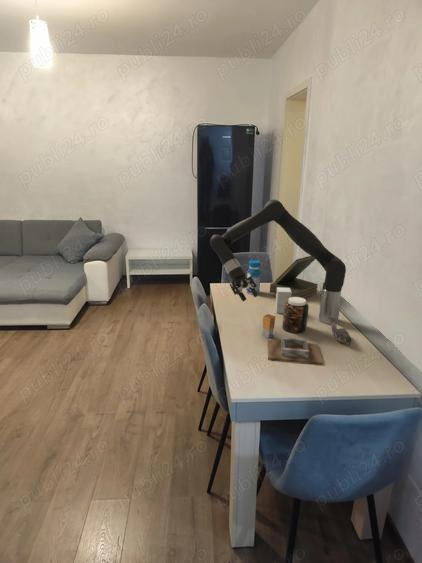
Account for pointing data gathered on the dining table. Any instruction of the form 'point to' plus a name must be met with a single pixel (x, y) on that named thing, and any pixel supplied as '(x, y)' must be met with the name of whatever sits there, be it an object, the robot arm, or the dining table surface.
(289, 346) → the socket board
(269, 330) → the orange rectangular block
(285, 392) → the dining table surface
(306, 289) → the open hinged box
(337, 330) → the decorative bird
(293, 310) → the jar
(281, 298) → the supplement box
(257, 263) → the beverage bottle
